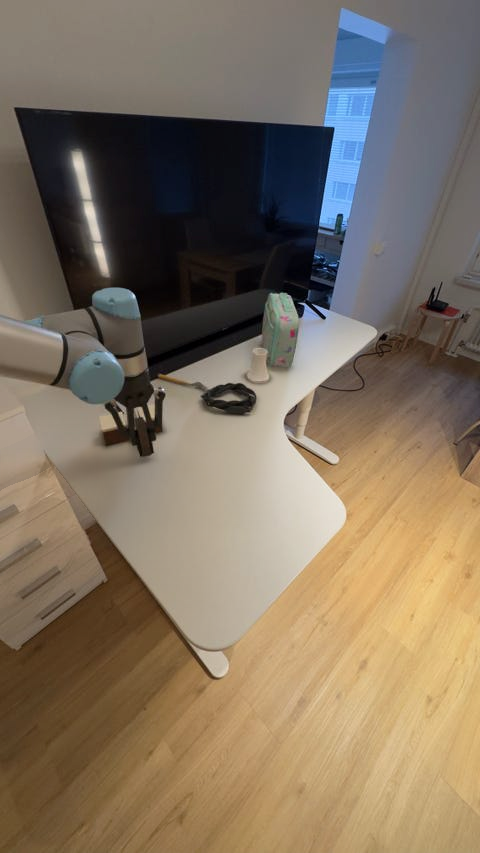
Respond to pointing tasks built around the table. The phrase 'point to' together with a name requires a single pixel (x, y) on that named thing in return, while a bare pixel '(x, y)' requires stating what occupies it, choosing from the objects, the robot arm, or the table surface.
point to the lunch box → (280, 330)
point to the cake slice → (152, 413)
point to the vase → (258, 367)
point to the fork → (182, 381)
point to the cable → (232, 405)
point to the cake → (112, 429)
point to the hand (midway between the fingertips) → (145, 451)
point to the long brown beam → (142, 434)
